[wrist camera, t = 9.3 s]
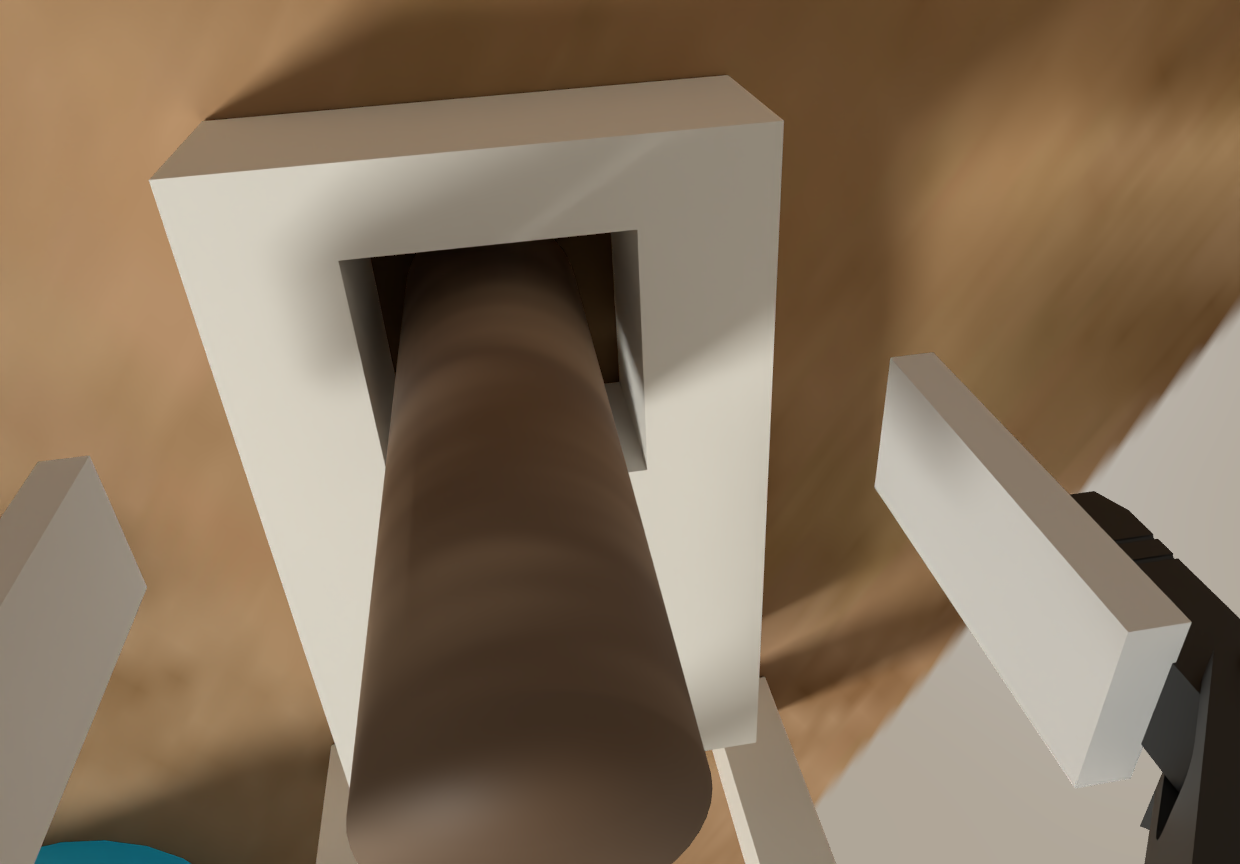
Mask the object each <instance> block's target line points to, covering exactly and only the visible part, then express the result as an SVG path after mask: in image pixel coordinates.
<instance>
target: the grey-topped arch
mask: <svg viewBox="0 0 1240 864" xmlns="http://www.w3.org/2000/svg"><path fill="white" fill-rule="evenodd" d="M712 751H713V754H714V758H715V761H716V764H717V768H718V771H719V775H720V778H721V782H722V785H723V788H724V792H725V795H726V799H727V802H728V806H729V809H730V812H731V816H732V819H733V823H734V826H735V830H736V833H737V837H738V840H739V843H740V847H741V850H742V854H743V857H744V861H745V864H836V862H835V860H834V857H833V854H832V852H831V849H830V847H829V844H828V841H827V839H826V836H825V833H824V831H823V828H822V826H821V823H820V820H819V818H818V815H817V812H816V810H815V807H814V804H813V802H812V799H811V796H810V794H809V791H808V789H807V786H806V783H805V781H804V778H803V775H802V773H801V770H800V768H799V765H798V762H797V760H796V757H795V754H794V752H793V749H792V746H791V744H790V741H789V739H788V736H787V733H786V731H785V728H784V725H783V723H782V720H781V718H780V715H779V712H778V710H777V707H776V704H775V702H774V699H773V697H772V694H771V691H770V689H769V686H768V683H767V681H766V678H765V677H761V678H759V691H758V713H757V736H756V743H750V744H744V745H738V746H732V747H726V748H720V749H713V750H712ZM348 797H349V785H348V782H347V779H346V776H345V773H344V770H343V767H342V764H341V761H340V758H339V755H338V751H337V748H336V745H335V744H334V745H331V752H330V760H329V767H328V775H327V783H326V790H325V798H324V805H323V813H322V820H321V828H320V836H319V843H318V851H317V858H316V864H358V863H357V862H356V859H355V857H354V855H353V853H352V851H351V849H350V846H349V842H348V837H347V833H346V815H347V806H348Z"/></svg>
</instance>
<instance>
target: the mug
mask: <svg viewBox="0 0 1240 864" xmlns="http://www.w3.org/2000/svg"><path fill="white" fill-rule="evenodd" d="M34 864H191V863H189V862H188V861H186V860H185V859H183V858H180V857H178V856H175V855H172V854H169V853H166V852H163V851H160V850H157V849H154V848H151V847H148V846H143V845H136V844H128V843H121V842H114V841H106V840H101V841H78V842H60V843H56V844H52V845H47V846H43V847H41V848H40V851H39V853H38V856H37V858H36V861H35V863H34Z"/></svg>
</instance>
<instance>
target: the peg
mask: <svg viewBox="0 0 1240 864" xmlns="http://www.w3.org/2000/svg"><path fill="white" fill-rule="evenodd" d="M711 797H712V779H711V772H710V769H709V765H708V761H707V758H706V754H705V750H704V747H703V743H702V739H701V736H700V732H699V728H698V725H697V721H696V717H695V714H694V710H693V706H692V703H691V699H690V696H689V692H688V688H687V685H686V681H685V677H684V674H683V670H682V666H681V663H680V659H679V655H678V652H677V648H676V644H675V641H674V637H673V633H672V630H671V626H670V623H669V619H668V615H667V612H666V608H665V604H664V601H663V597H662V593H661V590H660V586H659V582H658V579H657V575H656V571H655V568H654V564H653V560H652V557H651V553H650V550H649V546H648V542H647V539H646V535H645V531H644V528H643V524H642V520H641V517H640V513H639V509H638V506H637V502H636V498H635V495H634V491H633V487H632V484H631V480H630V477H629V473H628V469H627V466H626V462H625V458H624V455H623V451H622V447H621V444H620V440H619V436H618V433H617V429H616V425H615V422H614V418H613V414H612V411H611V407H610V404H609V400H608V396H607V393H606V389H605V385H604V382H603V378H602V374H601V371H600V367H599V363H598V360H597V356H596V352H595V349H594V345H593V341H592V338H591V334H590V331H589V327H588V323H587V320H586V316H585V312H584V309H583V305H582V301H581V298H580V294H579V290H578V287H577V283H576V279H575V276H574V273H573V269H572V266H571V264H570V262H569V260H568V258H567V256H566V254H565V253H564V251H563V250H562V248H561V247H560V246H559V245H558V244H557V242H556V241H555V240H554V239H553V238H551V239H542V240H532V241H523V242H513V243H503V244H494V245H484V246H475V247H465V248H455V249H446V250H436V251H427V252H417V253H416V255H415V257H414V259H413V261H412V263H411V265H410V269H409V272H408V275H407V281H406V288H405V297H404V306H403V315H402V324H401V333H400V342H399V350H398V359H397V368H396V377H395V386H394V395H393V404H392V413H391V422H390V431H389V440H388V449H387V458H386V467H385V476H384V484H383V493H382V502H381V511H380V520H379V529H378V538H377V547H376V556H375V565H374V574H373V583H372V592H371V601H370V610H369V618H368V627H367V636H366V645H365V654H364V663H363V672H362V681H361V690H360V699H359V708H358V717H357V726H356V735H355V744H354V753H353V761H352V770H351V779H350V788H349V797H348V806H347V815H346V833H347V837H348V842H349V846H350V849H351V851H352V853H353V855H354V857H355V859H356V862H357V863H358V864H672V863H673V862H674V861H675V860H676V859H678V858H679V856H680V855H681V854H682V853H683V852H684V851H685V850H686V849H687V848H688V847H689V846H690V844H691V843H692V841H693V840H694V839H695V837H696V836H697V834H698V833H699V831H700V829H701V827H702V825H703V823H704V821H705V819H706V817H707V814H708V811H709V807H710V804H711Z"/></svg>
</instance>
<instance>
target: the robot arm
mask: <svg viewBox="0 0 1240 864" xmlns="http://www.w3.org/2000/svg"><path fill="white" fill-rule="evenodd" d="M875 489H876V490H877V492H878V493H879V495H880V496H881V498H882V499H883V501H884V502H885V504H886V505H887V507H888V508H889V510H890V511H891V513H892V514H893V516H894V517H895V519H896V520H897V522H898V523H899V525H900V526H901V528H902V529H903V531H904V532H905V534H906V535H907V537H908V538H909V540H910V541H911V543H912V544H913V546H914V547H915V549H916V550H917V552H918V553H919V555H920V556H921V558H922V559H923V561H924V562H925V564H926V565H927V567H928V568H929V570H930V571H931V573H932V574H933V576H934V577H935V579H936V580H937V582H938V583H939V585H940V586H941V588H942V589H943V591H944V592H945V594H946V595H947V597H948V598H949V600H950V601H951V603H952V604H953V606H954V607H955V609H956V610H957V612H958V613H959V615H960V616H961V618H962V619H963V621H964V623H965V624H966V626H967V627H968V629H969V630H970V631H971V633H972V634H973V636H974V637H975V639H976V641H977V642H978V644H979V645H980V646H981V648H982V650H983V651H984V653H985V654H986V656H987V657H988V658H989V660H990V661H991V663H992V665H993V666H994V667H995V669H996V671H997V672H998V674H999V675H1000V676H1001V678H1002V680H1003V681H1004V683H1005V684H1006V686H1007V687H1008V689H1009V690H1010V692H1011V693H1012V695H1013V696H1014V698H1015V699H1016V701H1017V702H1018V704H1019V705H1020V707H1021V708H1022V710H1023V711H1024V713H1025V714H1026V716H1027V717H1028V719H1029V720H1030V721H1031V723H1032V725H1033V726H1034V728H1035V729H1036V731H1037V732H1038V734H1039V735H1040V737H1041V738H1042V740H1043V741H1044V743H1045V744H1046V746H1047V747H1048V749H1049V750H1050V752H1051V753H1052V755H1053V756H1054V758H1055V759H1056V761H1057V762H1058V764H1059V765H1060V767H1061V768H1062V770H1063V771H1064V773H1065V774H1066V776H1067V777H1068V779H1069V780H1070V782H1071V783H1072V785H1073V786H1074V788H1080V787H1085V786H1091V785H1097V784H1102V783H1108V782H1114V781H1119V780H1125V779H1130V778H1131V776H1132V773H1133V771H1134V769H1135V766H1136V763H1137V761H1138V758H1139V756H1140V753H1141V751H1142V748H1143V747H1144V749H1145V750H1146V751H1147V752H1148V754H1149V755H1150V756H1151V758H1152V759H1153V760H1154V761H1155V763H1156V764H1157V765H1158V766H1159V768H1160V769H1161V771H1162V772H1163V773H1162V775H1161V777H1160V780H1159V782H1158V785H1157V787H1156V789H1155V792H1154V794H1153V796H1152V799H1151V801H1150V804H1149V806H1148V809H1147V811H1146V813H1145V816H1144V818H1143V820H1142V823H1141V825H1140V826H1141V827H1144V828H1146V829H1149V830H1150V831H1149V838H1148V845H1147V851H1146V858H1145V864H1240V619H1239V618H1238V617H1237V616H1236V615H1235V614H1234V613H1233V612H1232V611H1231V610H1230V609H1229V608H1228V607H1227V606H1226V605H1225V604H1224V603H1223V602H1222V601H1221V600H1220V599H1219V598H1218V597H1217V596H1216V595H1215V594H1214V593H1213V592H1212V591H1211V590H1210V589H1209V588H1208V587H1207V586H1206V585H1205V584H1204V583H1203V582H1202V581H1201V580H1199V578H1197V577H1196V576H1195V575H1194V574H1193V573H1192V572H1191V571H1190V570H1189V569H1188V568H1187V567H1186V566H1185V565H1184V564H1183V563H1182V562H1181V561H1180V560H1179V559H1174V558H1173V553H1172V552H1171V551H1170V550H1169V549H1168V548H1167V547H1166V546H1165V545H1164V544H1162V542H1161V541H1160V540H1158V539H1154V538H1153V534H1152V533H1151V532H1150V531H1149V530H1148V529H1147V528H1146V527H1145V526H1144V525H1143V524H1142V523H1141V522H1140V521H1139V520H1138V519H1137V518H1136V517H1135V516H1134V515H1133V514H1132V513H1131V512H1130V511H1129V510H1127V509H1125V508H1124V507H1122V506H1120V505H1118V504H1116V503H1114V502H1113V501H1111V500H1109V499H1107V498H1105V497H1104V496H1102V495H1100V494H1098V493H1096V492H1095V491H1092V492H1085V493H1078V494H1071V495H1069V494H1068V493H1067V491H1066V490H1065V489H1064V488H1063V487H1062V486H1061V485H1060V484H1059V483H1058V482H1057V481H1056V480H1055V479H1054V478H1053V477H1052V476H1051V475H1050V474H1049V473H1048V472H1047V471H1046V470H1045V469H1044V467H1043V466H1042V465H1041V464H1040V463H1039V462H1038V461H1037V460H1036V459H1035V458H1034V457H1033V456H1032V455H1031V454H1030V453H1029V452H1028V451H1027V450H1026V449H1025V448H1024V447H1023V446H1022V445H1021V443H1020V442H1019V441H1018V440H1017V439H1016V438H1015V437H1014V436H1013V435H1012V434H1011V433H1010V432H1009V431H1008V430H1007V429H1006V428H1005V427H1004V426H1003V425H1002V424H1001V423H1000V422H999V421H998V419H997V418H996V417H995V416H994V415H993V414H992V413H991V412H990V411H989V410H988V409H987V408H986V407H985V406H984V405H983V404H982V403H981V402H980V401H979V400H978V399H977V398H976V397H975V395H974V394H973V393H972V392H971V391H970V390H969V389H968V388H967V387H966V386H965V385H964V384H963V383H962V382H961V381H960V380H959V379H958V378H957V377H956V376H955V375H954V374H953V373H952V371H951V370H950V369H949V368H948V367H947V366H946V365H945V364H944V363H943V362H942V361H941V360H940V359H939V358H938V357H937V356H936V355H935V354H934V353H933V352H931V353H923V354H915V355H906V356H898V357H891V358H890V366H889V374H888V382H887V390H886V398H885V407H884V415H883V423H882V431H881V439H880V447H879V455H878V464H877V472H876V480H875ZM146 589H147V586H146V584H145V581H144V579H143V577H142V574H141V572H140V570H139V568H138V565H137V563H136V561H135V558H134V556H133V554H132V552H131V549H130V547H129V545H128V542H127V540H126V538H125V536H124V533H123V531H122V529H121V526H120V524H119V522H118V520H117V517H116V515H115V513H114V510H113V508H112V506H111V504H110V501H109V499H108V497H107V494H106V492H105V490H104V488H103V485H102V483H101V481H100V478H99V476H98V474H97V472H96V469H95V467H94V465H93V462H92V460H91V458H90V456H82V457H73V458H65V459H57V460H49V461H41V462H38V463H37V464H36V466H35V467H34V469H33V470H32V472H31V473H30V475H29V476H28V478H27V479H26V481H25V482H24V484H23V485H22V487H21V488H20V490H19V491H18V493H17V494H16V496H15V497H14V499H13V500H12V502H11V503H10V505H9V506H8V508H7V509H6V511H5V512H4V514H3V515H2V517H1V518H0V864H34V863H35V861H36V858H37V856H38V853H39V851H40V848H41V846H42V843H43V841H44V838H45V836H46V834H47V831H48V829H49V826H50V824H51V821H52V819H53V816H54V814H55V812H56V809H57V807H58V804H59V802H60V799H61V797H62V794H63V792H64V790H65V787H66V785H67V782H68V780H69V777H70V775H71V772H72V770H73V767H74V765H75V763H76V760H77V758H78V755H79V753H80V750H81V748H82V745H83V743H84V741H85V738H86V736H87V733H88V731H89V728H90V726H91V723H92V721H93V718H94V716H95V714H96V711H97V709H98V706H99V704H100V701H101V699H102V696H103V694H104V692H105V689H106V687H107V684H108V682H109V679H110V677H111V674H112V672H113V669H114V667H115V665H116V662H117V660H118V657H119V655H120V652H121V650H122V647H123V645H124V643H125V640H126V638H127V635H128V633H129V630H130V628H131V625H132V623H133V620H134V618H135V616H136V613H137V611H138V608H139V606H140V603H141V601H142V598H143V596H144V594H145V591H146Z"/></svg>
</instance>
